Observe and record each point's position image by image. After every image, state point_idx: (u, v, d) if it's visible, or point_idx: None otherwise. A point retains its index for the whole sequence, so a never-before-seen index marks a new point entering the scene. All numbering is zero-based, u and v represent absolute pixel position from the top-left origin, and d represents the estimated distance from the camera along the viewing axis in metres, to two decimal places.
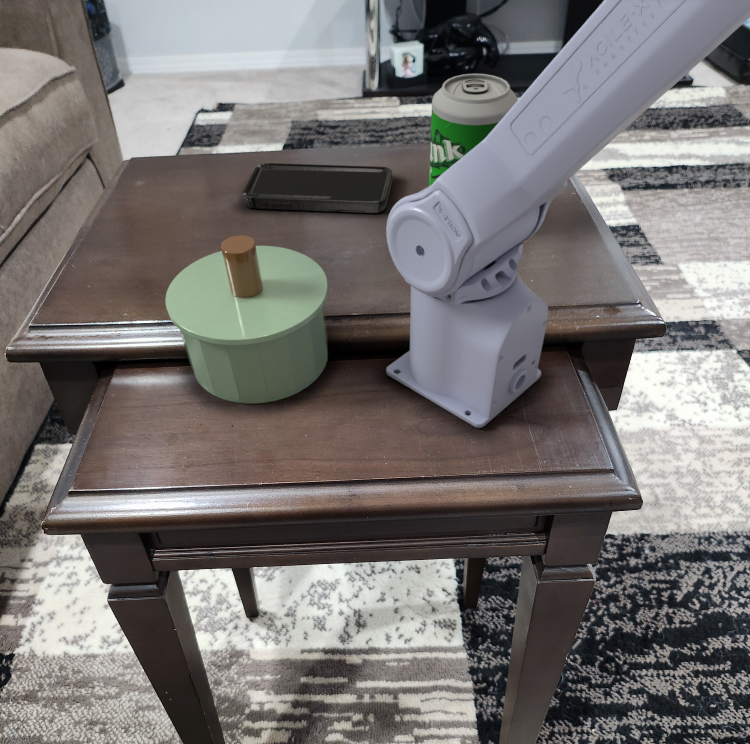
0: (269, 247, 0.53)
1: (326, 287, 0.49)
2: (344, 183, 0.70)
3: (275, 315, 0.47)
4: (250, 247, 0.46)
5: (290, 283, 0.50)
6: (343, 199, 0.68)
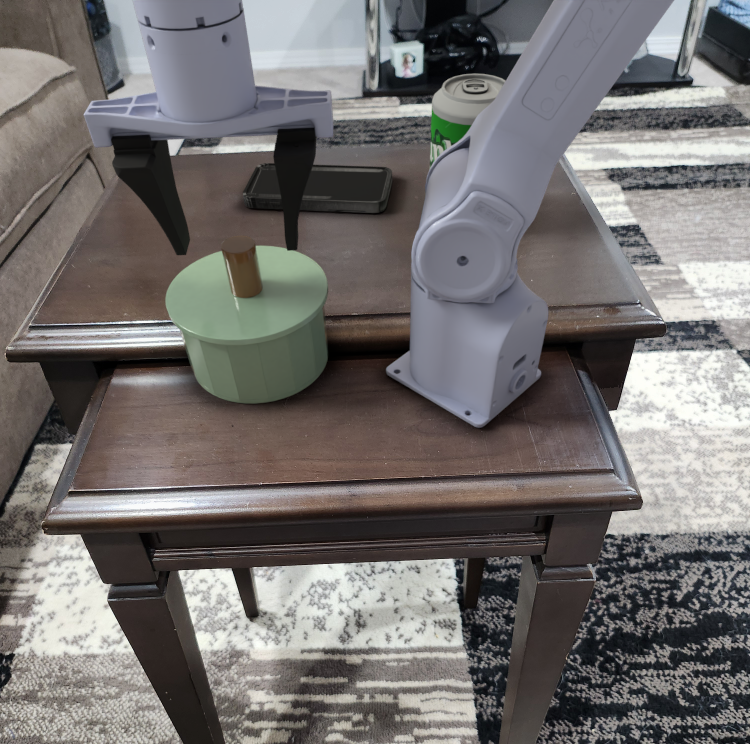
0: (269, 247, 0.53)
1: (326, 287, 0.49)
2: (344, 183, 0.70)
3: (275, 315, 0.47)
4: (250, 247, 0.46)
5: (290, 283, 0.50)
6: (343, 199, 0.68)
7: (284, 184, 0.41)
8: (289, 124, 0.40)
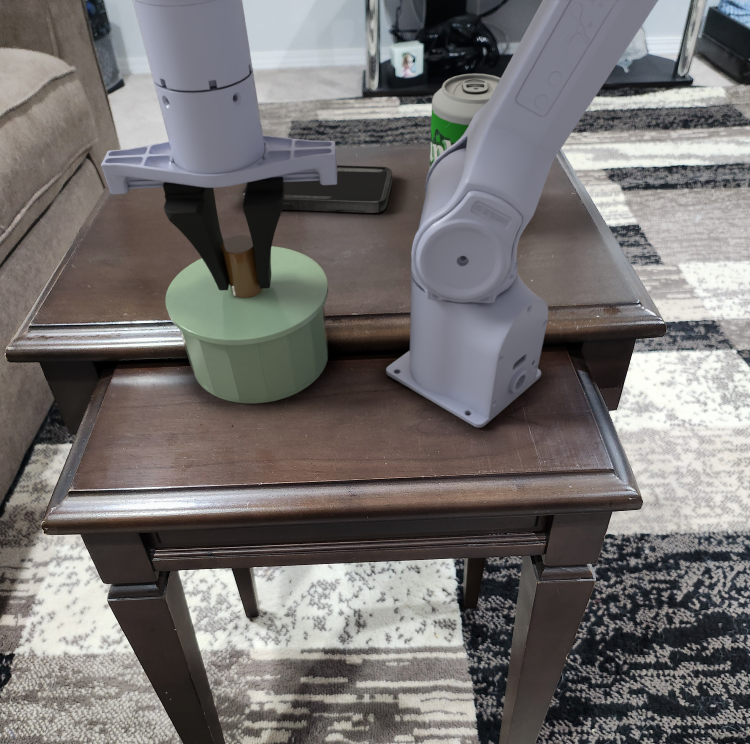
0: None
1: (326, 287, 0.49)
2: (344, 183, 0.70)
3: (275, 315, 0.47)
4: (250, 247, 0.46)
5: (290, 283, 0.50)
6: (343, 199, 0.68)
7: (254, 229, 0.44)
8: None
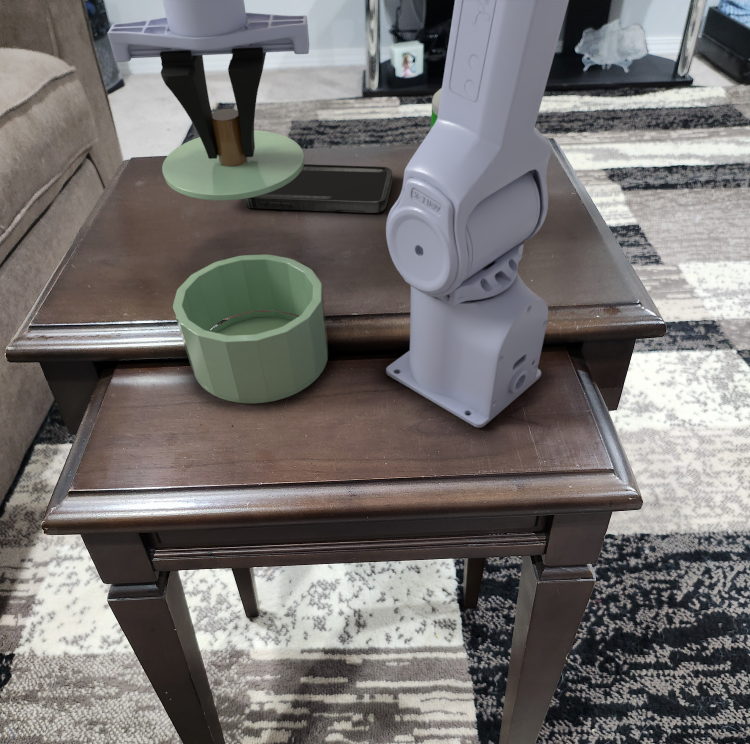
0: None
1: (302, 158, 0.57)
2: (344, 183, 0.70)
3: (257, 177, 0.55)
4: (235, 116, 0.54)
5: (271, 155, 0.57)
6: (343, 199, 0.68)
7: (238, 95, 0.51)
8: None
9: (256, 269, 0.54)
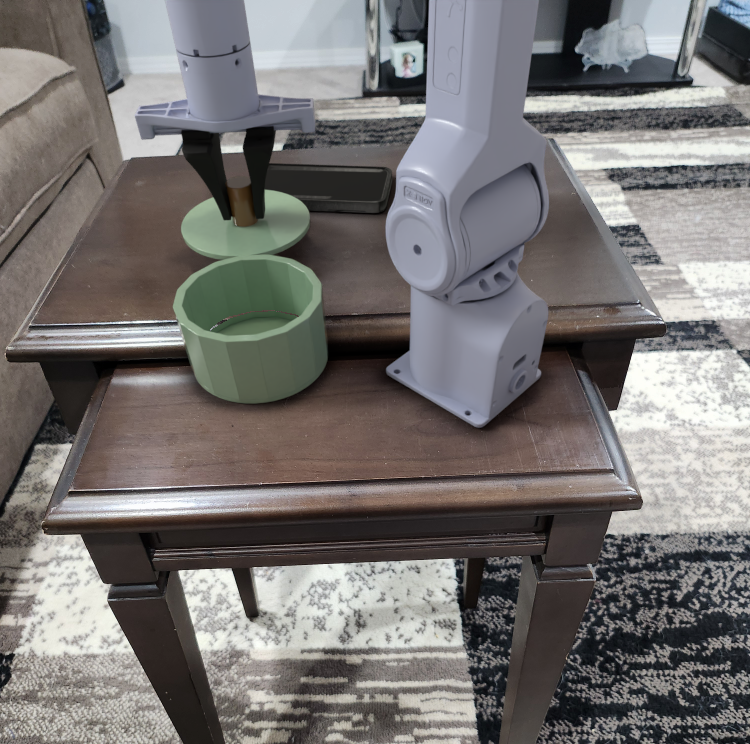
0: None
1: (308, 219, 0.62)
2: (344, 183, 0.70)
3: (268, 238, 0.60)
4: (248, 184, 0.59)
5: (280, 216, 0.63)
6: (343, 199, 0.68)
7: (251, 168, 0.56)
8: None
9: (256, 269, 0.54)
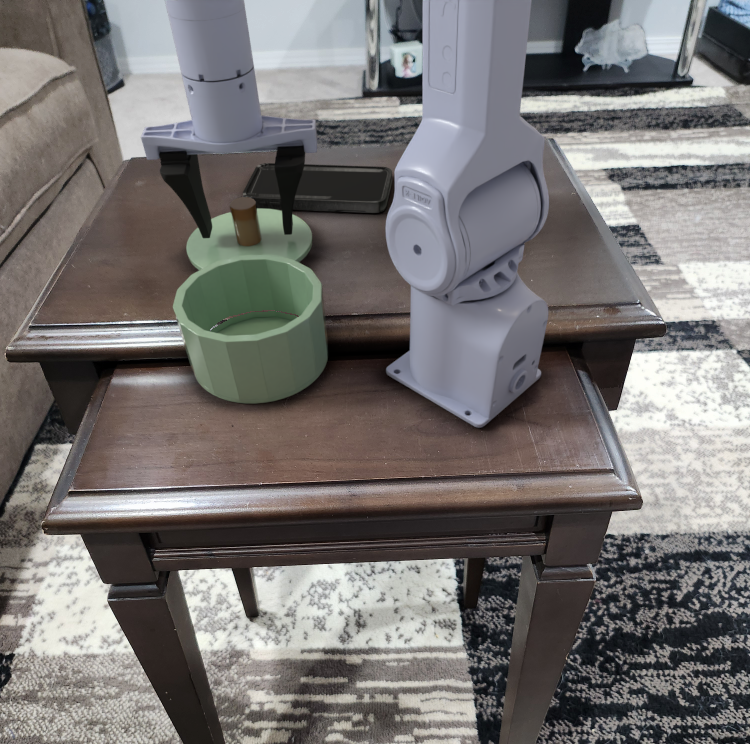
0: (266, 209, 0.67)
1: (310, 238, 0.64)
2: (344, 183, 0.70)
3: None
4: (252, 205, 0.61)
5: (283, 235, 0.64)
6: (343, 199, 0.68)
7: (282, 186, 0.58)
8: (285, 143, 0.57)
9: (256, 269, 0.54)
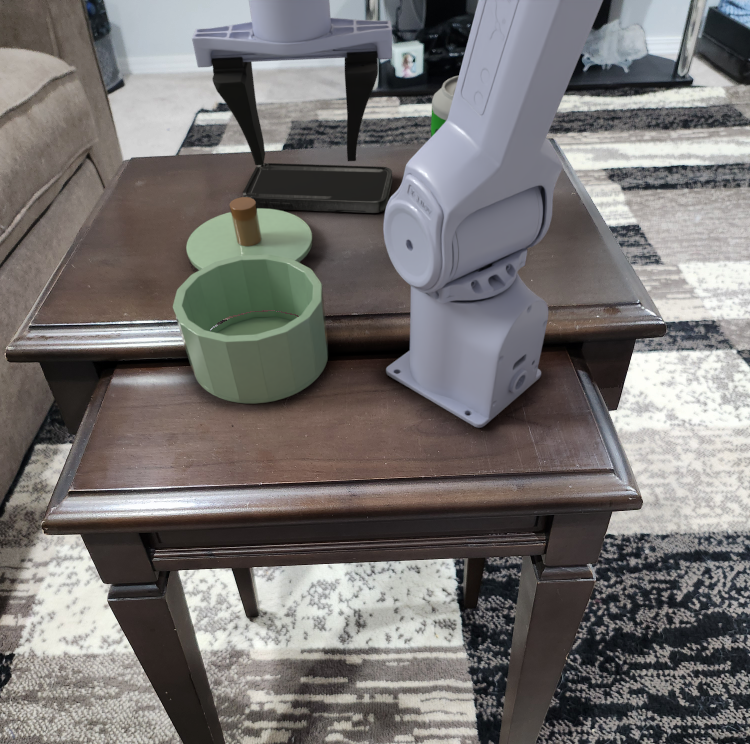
0: (266, 209, 0.67)
1: (310, 238, 0.64)
2: (344, 183, 0.70)
3: None
4: (252, 205, 0.61)
5: (283, 235, 0.64)
6: (343, 199, 0.68)
7: (350, 99, 0.51)
8: (356, 48, 0.50)
9: (256, 269, 0.54)
